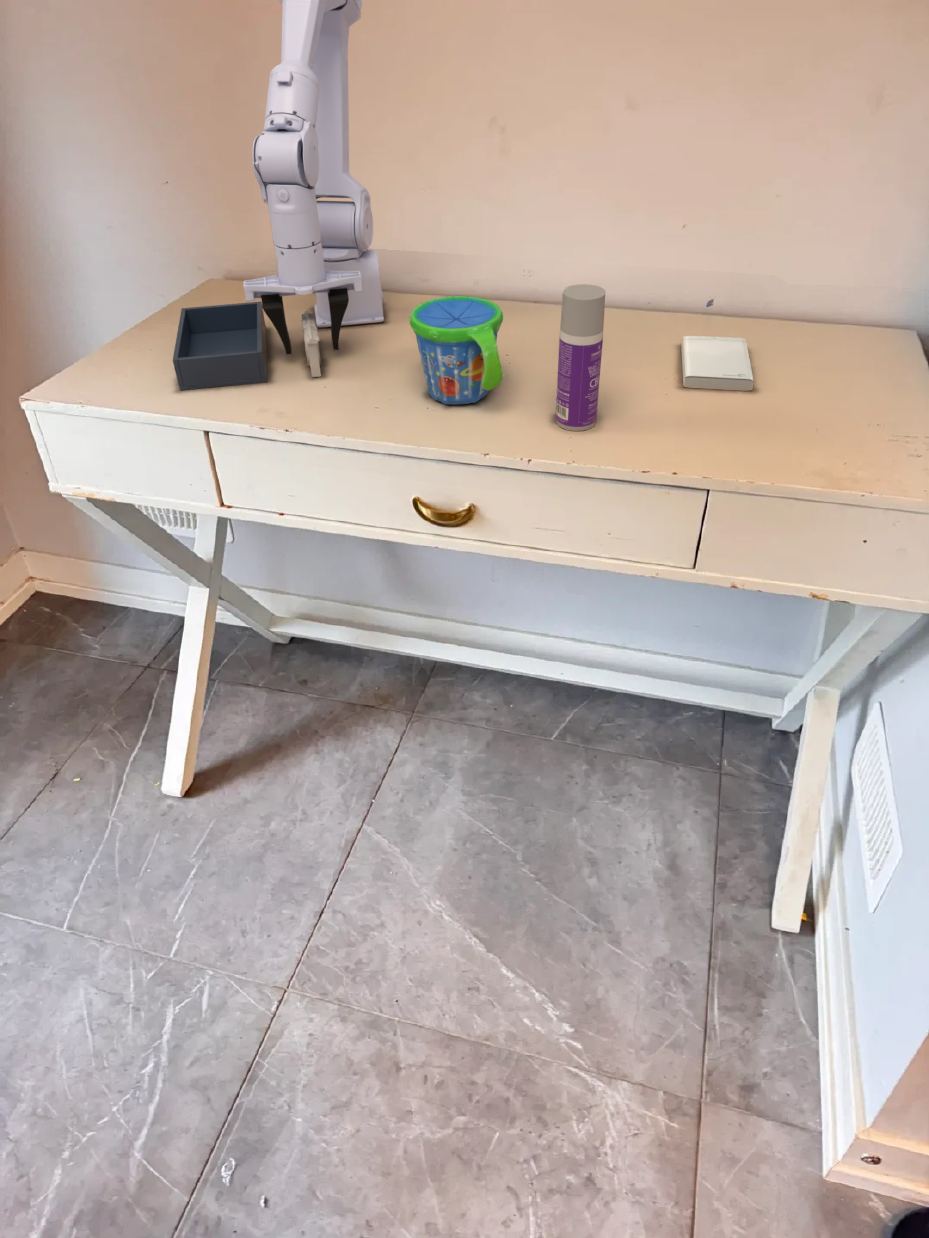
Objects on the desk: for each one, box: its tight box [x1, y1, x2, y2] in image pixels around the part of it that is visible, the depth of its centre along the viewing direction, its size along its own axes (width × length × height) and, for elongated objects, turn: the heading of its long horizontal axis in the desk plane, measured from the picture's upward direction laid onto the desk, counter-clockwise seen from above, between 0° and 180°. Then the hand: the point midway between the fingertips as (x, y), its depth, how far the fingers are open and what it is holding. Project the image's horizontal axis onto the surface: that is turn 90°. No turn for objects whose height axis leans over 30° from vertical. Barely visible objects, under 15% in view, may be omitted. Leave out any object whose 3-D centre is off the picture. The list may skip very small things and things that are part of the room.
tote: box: [172, 300, 268, 391], centre depth 117 cm, size 11×17×4 cm, turn 10°
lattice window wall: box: [300, 310, 322, 378], centre depth 116 cm, size 12×2×6 cm, turn 12°
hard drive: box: [680, 335, 755, 392], centre depth 113 cm, size 2×8×12 cm
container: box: [555, 283, 606, 432], centre depth 98 cm, size 5×5×15 cm
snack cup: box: [409, 295, 504, 405], centre depth 106 cm, size 16×10×10 cm
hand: (312, 349), depth 117 cm, fingers open, 5 cm apart
